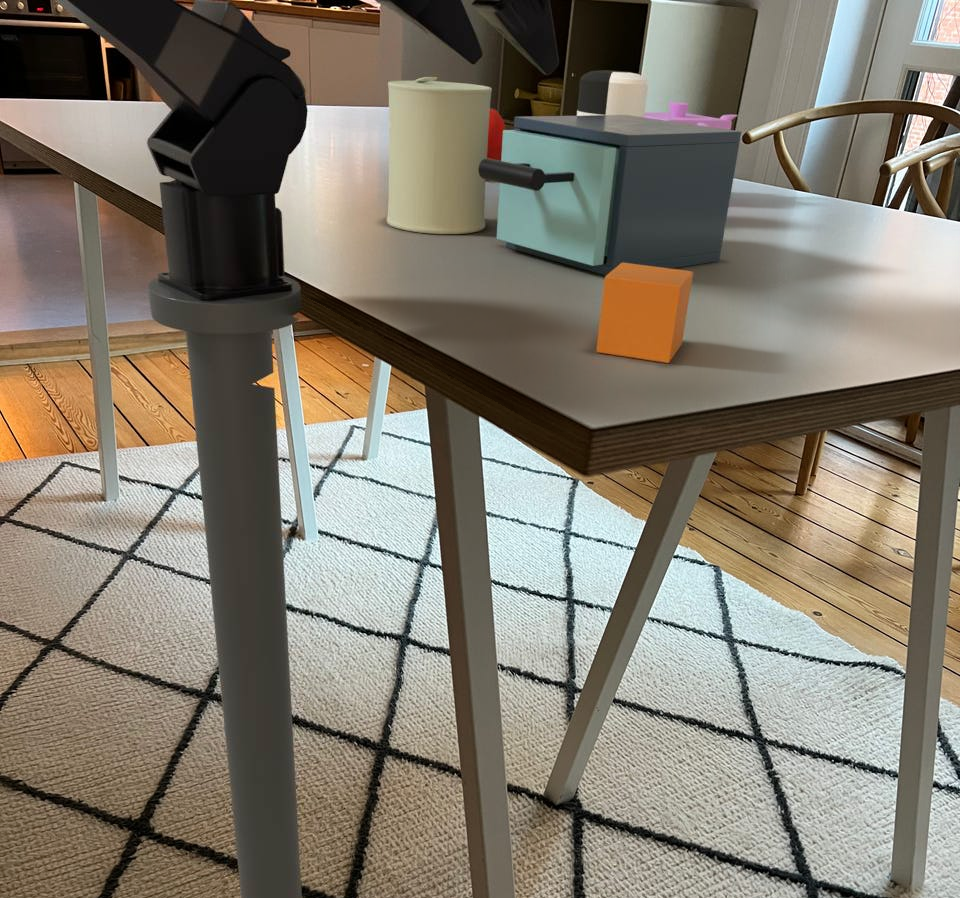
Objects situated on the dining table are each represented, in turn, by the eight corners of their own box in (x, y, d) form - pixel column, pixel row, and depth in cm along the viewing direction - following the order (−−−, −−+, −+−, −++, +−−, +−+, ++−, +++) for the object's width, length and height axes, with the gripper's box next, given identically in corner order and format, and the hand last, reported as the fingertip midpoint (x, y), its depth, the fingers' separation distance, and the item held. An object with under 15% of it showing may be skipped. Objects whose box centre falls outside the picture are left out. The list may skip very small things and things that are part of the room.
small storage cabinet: (611, 277, 80) (629, 135, 74) (505, 247, 87) (514, 116, 82) (719, 261, 87) (741, 131, 82) (612, 234, 95) (627, 114, 90)
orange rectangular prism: (668, 363, 60) (680, 285, 58) (595, 352, 62) (604, 275, 59) (681, 345, 64) (693, 271, 62) (612, 334, 65) (621, 262, 63)
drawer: (548, 272, 76) (559, 150, 71) (452, 243, 83) (457, 131, 78) (695, 251, 86) (712, 143, 81) (598, 228, 93) (609, 127, 88)
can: (453, 213, 100) (458, 75, 94) (503, 231, 93) (513, 84, 87) (369, 218, 96) (369, 73, 89) (416, 236, 89) (419, 81, 83)
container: (546, 213, 103) (558, 67, 96) (592, 207, 108) (607, 68, 101) (606, 226, 99) (624, 74, 92) (651, 219, 104) (671, 74, 97)
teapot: (683, 184, 127) (697, 97, 122) (758, 202, 118) (775, 108, 113) (567, 188, 119) (576, 94, 114) (636, 208, 109) (650, 106, 104)
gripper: (573, -310, 51) (685, -19, 62) (398, -256, 64) (516, -23, 76) (425, -151, 51) (563, 112, 62) (280, -129, 64) (416, 85, 75)
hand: (513, 64), depth 69 cm, fingers open, 9 cm apart
